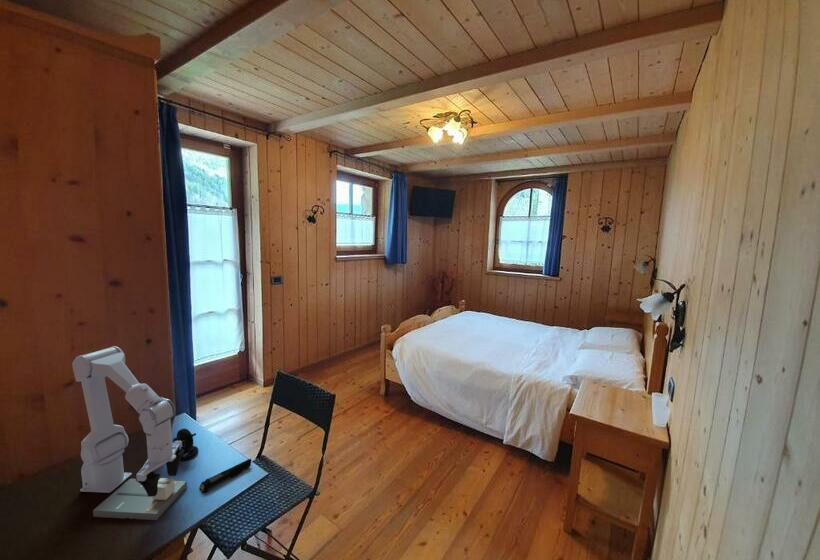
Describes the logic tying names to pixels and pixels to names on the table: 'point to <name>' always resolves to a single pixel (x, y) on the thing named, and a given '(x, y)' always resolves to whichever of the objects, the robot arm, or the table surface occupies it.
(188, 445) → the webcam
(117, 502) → the console
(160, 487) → the fader
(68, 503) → the table surface
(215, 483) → the electric trimmer
